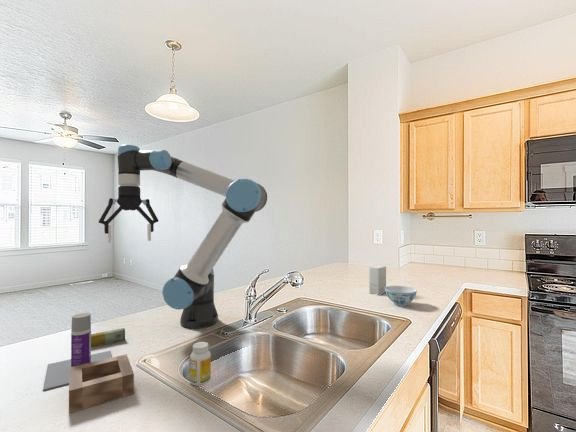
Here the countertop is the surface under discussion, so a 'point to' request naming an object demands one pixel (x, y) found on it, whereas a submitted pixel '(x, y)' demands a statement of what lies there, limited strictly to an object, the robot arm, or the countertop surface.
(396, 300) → the chinaware
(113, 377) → the walnut box
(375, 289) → the skincare box
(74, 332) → the container
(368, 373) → the countertop surface
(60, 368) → the grey mat
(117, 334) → the medication box
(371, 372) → the countertop surface
